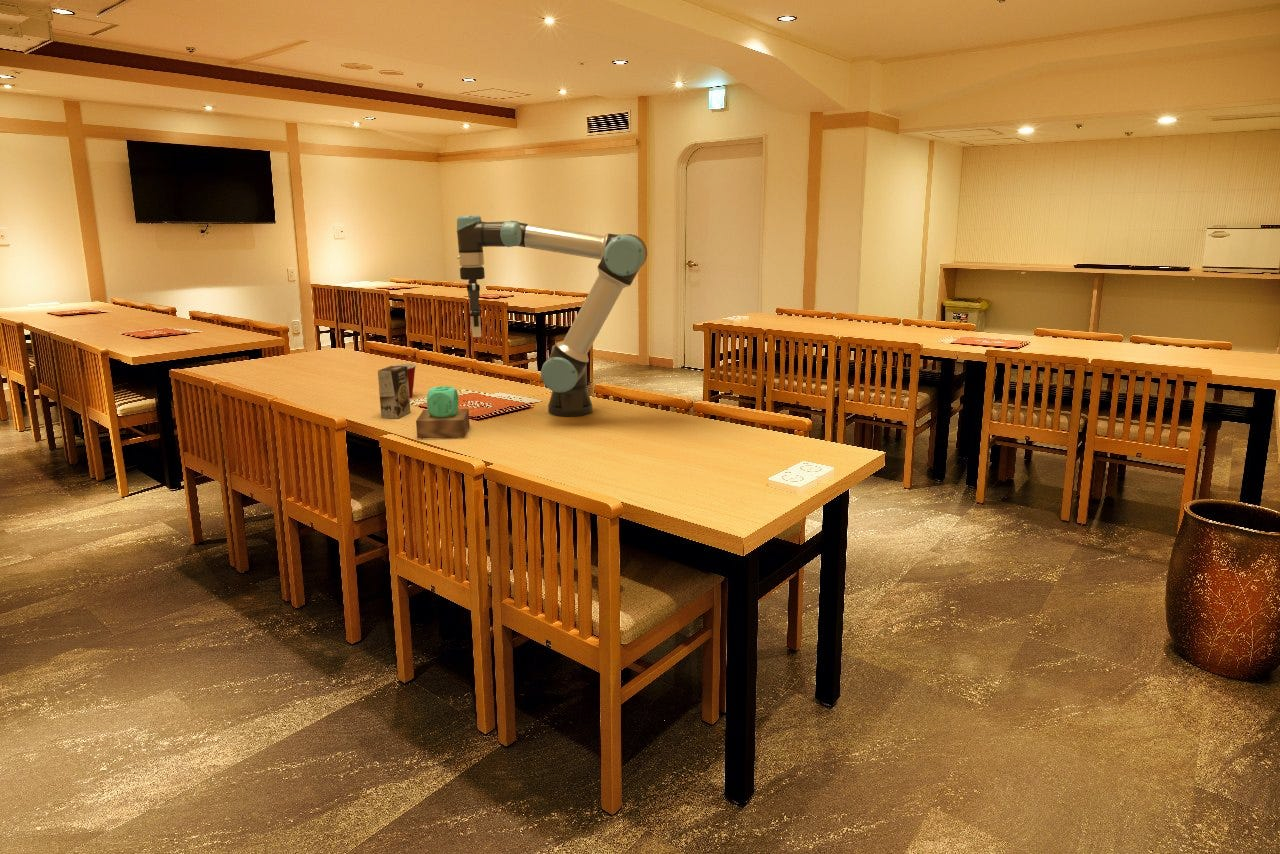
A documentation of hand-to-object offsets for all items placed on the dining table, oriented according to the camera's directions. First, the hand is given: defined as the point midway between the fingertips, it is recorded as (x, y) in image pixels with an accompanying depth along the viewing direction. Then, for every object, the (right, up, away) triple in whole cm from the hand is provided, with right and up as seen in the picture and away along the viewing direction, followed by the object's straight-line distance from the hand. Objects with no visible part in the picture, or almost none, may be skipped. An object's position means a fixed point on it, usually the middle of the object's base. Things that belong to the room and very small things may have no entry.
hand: (476, 333), depth 254 cm
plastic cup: (-35, -19, +38) cm, 55 cm away
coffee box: (-29, -26, +13) cm, 41 cm away
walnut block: (-8, -32, -8) cm, 34 cm away
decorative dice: (-8, -26, -9) cm, 29 cm away
